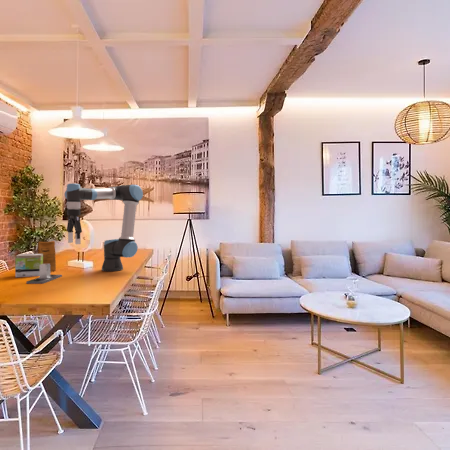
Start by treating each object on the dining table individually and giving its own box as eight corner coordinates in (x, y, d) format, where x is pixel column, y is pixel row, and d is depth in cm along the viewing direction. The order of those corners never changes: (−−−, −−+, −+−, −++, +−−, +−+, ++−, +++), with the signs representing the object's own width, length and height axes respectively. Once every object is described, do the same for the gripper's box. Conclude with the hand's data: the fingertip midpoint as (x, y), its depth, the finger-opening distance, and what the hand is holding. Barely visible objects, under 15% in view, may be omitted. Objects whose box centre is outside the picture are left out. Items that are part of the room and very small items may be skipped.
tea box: (15, 277, 210) (14, 255, 209) (18, 275, 219) (18, 253, 219) (41, 276, 215) (40, 254, 215) (43, 273, 225) (43, 252, 224)
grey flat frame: (47, 276, 214) (47, 274, 214) (62, 276, 214) (62, 274, 214) (26, 284, 192) (26, 281, 192) (42, 284, 192) (42, 281, 192)
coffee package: (35, 270, 236) (35, 241, 235) (54, 269, 243) (54, 240, 242) (37, 272, 228) (36, 242, 227) (56, 271, 235) (56, 241, 234)
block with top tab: (41, 279, 205) (41, 263, 205) (52, 279, 205) (52, 263, 204) (37, 280, 200) (37, 264, 200) (48, 280, 200) (48, 264, 200)
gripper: (60, 209, 202) (61, 242, 203) (74, 208, 184) (74, 245, 184) (73, 209, 207) (73, 241, 208) (87, 208, 189) (87, 244, 190)
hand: (74, 243), depth 196 cm, fingers open, 13 cm apart
